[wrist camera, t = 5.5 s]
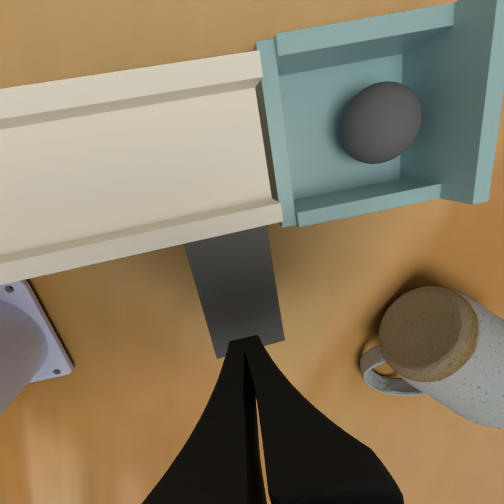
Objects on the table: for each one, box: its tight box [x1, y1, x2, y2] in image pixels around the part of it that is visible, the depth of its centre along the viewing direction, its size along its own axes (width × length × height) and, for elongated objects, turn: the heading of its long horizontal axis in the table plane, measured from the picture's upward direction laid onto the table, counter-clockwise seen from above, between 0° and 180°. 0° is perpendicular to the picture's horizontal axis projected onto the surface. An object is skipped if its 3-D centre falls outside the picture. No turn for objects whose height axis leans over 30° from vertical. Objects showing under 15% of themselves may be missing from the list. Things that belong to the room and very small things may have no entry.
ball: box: [339, 81, 422, 164], centre depth 14 cm, size 4×4×4 cm
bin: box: [253, 0, 504, 228], centre depth 14 cm, size 10×9×6 cm
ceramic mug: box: [360, 286, 504, 429], centre depth 19 cm, size 11×8×8 cm
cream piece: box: [0, 50, 285, 359], centre depth 12 cm, size 14×14×4 cm
